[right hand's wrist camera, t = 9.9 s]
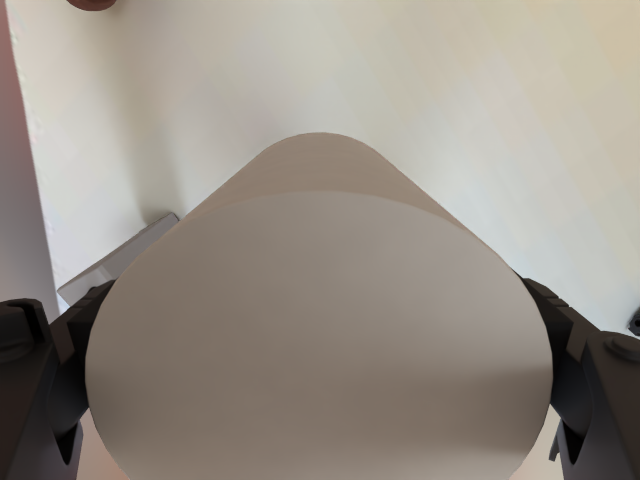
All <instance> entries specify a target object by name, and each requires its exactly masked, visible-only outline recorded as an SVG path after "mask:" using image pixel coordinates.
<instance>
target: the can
mask: <svg viewBox="0 0 640 480" xmlns="http://www.w3.org/2000/svg"><path fill="white" fill-rule="evenodd" d="M552 383H553V366H552V352H551V348H550V343H549V339H548V335H547V330H546V326H545V324H544V322H543V319H542V317H541V315H540V312H539V310H538V308H537V305H536V303H535V301H534V299H533V298H532V296H531V295H530V293H529V292H528V290H527V289H526V287H525V286H524V284H523V282H522V281H521V279H520V278H519V277H518V276H517V274H516V273H515V272H514V271H513V270H512V269H511V268H510V267H509V266H508V265H507V263H506V262H505V261H504V260H503V259H502V258H501V257H500V256H499V255H498V254H497V253H496V252H495V251H493V250H492V249H491V248H490V247H489V246H488V245H486V244H485V243H484V242H483V241H482V240H481V239H479V238H478V237H477V236H476V235H475V234H473V233H472V232H471V231H470V230H469V229H468V228H466V227H465V226H464V225H463V224H462V223H461V222H459V221H458V220H457V219H456V218H455V217H453V216H452V215H451V214H450V213H449V212H448V211H446V210H445V209H444V208H443V207H442V206H441V205H439V204H438V203H437V202H436V201H435V200H433V199H432V198H431V197H430V196H429V195H428V194H426V193H425V192H424V191H423V190H422V189H421V188H419V187H418V186H417V185H416V184H415V183H413V182H412V181H411V180H410V179H409V178H408V177H406V176H405V175H404V174H403V173H402V172H401V171H399V170H398V169H397V168H396V167H395V166H393V165H392V164H391V163H390V162H389V161H388V160H386V159H385V158H384V157H383V156H382V155H380V154H379V153H378V152H377V151H375V150H374V149H373V148H371V147H369V146H368V145H366V144H364V143H362V142H360V141H358V140H355V139H353V138H350V137H347V136H343V135H339V134H333V133H307V134H300V135H296V136H293V137H289V138H286V139H284V140H282V141H279V142H277V143H275V144H273V145H272V146H270V147H268V148H267V149H265V150H264V151H262V152H261V153H260V154H259V155H258V156H256V157H255V158H254V159H253V160H252V161H251V162H249V163H248V164H247V165H246V166H245V167H243V168H242V169H241V170H240V171H239V172H237V173H236V174H235V175H234V176H233V177H232V178H230V179H229V180H228V181H227V182H226V183H224V184H223V185H222V186H221V187H220V188H218V189H217V190H216V191H215V192H214V193H212V194H211V195H210V196H209V197H208V198H207V199H205V200H204V201H203V202H202V203H201V204H199V205H198V206H197V207H196V208H195V209H193V210H192V211H191V212H190V213H189V214H188V215H186V216H185V217H184V218H183V219H182V220H180V221H179V222H178V223H177V224H176V225H174V226H173V227H172V228H171V229H170V230H168V231H167V232H166V233H165V234H164V235H163V236H161V237H160V238H159V239H158V240H157V241H155V242H154V243H153V244H152V245H151V246H149V247H148V248H147V249H146V250H145V251H143V252H142V253H141V254H140V255H139V256H138V257H136V258H135V259H134V261H133V262H132V263H131V264H130V265H129V266H128V268H127V269H126V270H125V271H124V272H123V273H122V274H121V276H120V277H119V278H118V279H117V280H116V282H115V283H114V285H113V286H112V288H111V290H110V291H109V293H108V295H107V296H106V298H105V299H104V301H103V303H102V304H101V306H100V309H99V312H98V314H97V317H96V319H95V322H94V324H93V327H92V329H91V333H90V338H89V343H88V348H87V353H86V363H85V384H86V391H87V398H88V405H89V408H90V411H91V414H92V417H93V421H94V424H95V427H96V429H97V431H98V433H99V435H100V437H101V439H102V441H103V443H104V445H105V447H106V449H107V450H108V452H109V453H110V455H111V456H112V458H113V459H114V461H115V462H116V464H117V465H118V466H119V468H120V469H121V470H122V471H123V472H124V473H125V475H126V476H127V477H128V478H129V479H130V480H508V479H509V478H510V477H511V476H512V475H513V474H514V473H515V471H516V470H517V469H518V468H519V467H520V466H521V464H522V463H523V461H524V460H525V458H526V457H527V455H528V454H529V452H530V451H531V449H532V447H533V446H534V444H535V442H536V440H537V438H538V435H539V433H540V431H541V429H542V427H543V425H544V421H545V418H546V415H547V411H548V408H549V404H550V400H551V391H552Z"/></svg>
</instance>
